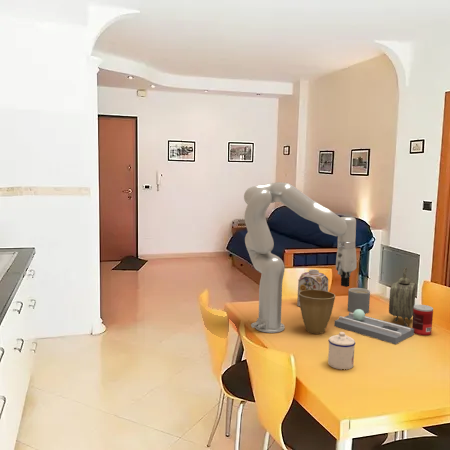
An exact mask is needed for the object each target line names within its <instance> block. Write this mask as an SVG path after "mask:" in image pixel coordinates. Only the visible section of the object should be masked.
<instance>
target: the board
mask: <svg viewBox="0 0 450 450" xmlns="http://www.w3.org/2000/svg"><path fill="white" fill-rule="evenodd" d="M333 326H334V327H335V326H336V328H339V329H343V330H345V331H349V332H353V333H355V334H359V335H363V336H366V337H369V338H373V339H377V340H380V341H383V342H386V343H389V344H392V345H397V344H399V343H401V342H403V341H404V340H406V339H408V338H410V337H412V336H414V335H415V333H414V329H413V328H412V327H409V326H407V327H405V326H404V325H401V324H398V323H394V322H389V321H386V320H381V319H380V318H379V319H378V318H374V317H370V316H368V315H367V316H366V315H365V318H364V319H363V320H361V321H357V320H355V319H354V317H353V313H351V312H349V313H348V315H346V316H340V315H339V316H338V318H337V319H336V320H334V324H333Z"/></svg>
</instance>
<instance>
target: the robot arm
mask: <svg viewBox="0 0 450 450" xmlns="http://www.w3.org/2000/svg"><path fill="white" fill-rule="evenodd" d="M243 200H244V202H245V204H246V205H247V206H246V208H245V211H244V224H245V227H246V231H247V233H246V234H245V237H244V243H245V247H246V250H247V253H248V254H249V255H248V256H249V258H250V261H251V263H252V265H253V267H254V269H255V270H256V271H257V272H258V273H260V274H261V275H260V276H261V277H260V280H259V289H258V318H256V321H255V322H252V323H251V324H250V326H251V329H255V330H257V331H259V332H261V333H262V332H263V333H268V334H269V333H270V334H273V333H280V332H283V331H284V330H285V324H284V323H282V301H283V298H282V297H283V280H284V279H283V278H284V275H285V263H284V261H283V260H282V258H280V256H278V255H276V254H274V253H272V251H273V249H274V246H275V245H274V243H275V242H274V238H273V236H272V233H271V231H270V227H269V225H268V223H267V218H266V214H267V210H268V208H269V207H270V205H271V204H273V203H281V204H283V205H284V206H285V207H287V208H288V209H290V210H291V211H293V213H295V214H297V216H300V217H301V218H303V219H305V220H308V221H311V222H312V223H315V224H317V225H318V227H319V230H320V231H321V232H322V233H324V234H327V235H331V236H334V237H337V250H336V259H335V270H336V271H337V275H339V276H340V286H341V287H345V288H347V287H350V277H351V273H352V272H354V271H355V270H356V269H357V267H358V266H357V265H358V264H357V249H356V237H357V235H356V233H357V232H356V230H357V219H356V218H355V217H354V216H341V217H340V216H339V215H338V214H336V213H335V212H334V211H332V210H331V209H329V208H327V207H325V206H324V205H322V204H320V203H319V202H317V201H315V200H313V198H311V197H310V196H308V195H307V194H305V193H304V192H302V191H301V190H300V189H298V188H297V187H296V186H294V185H292V184H291V183H288V182H282V181H281V182H280V181H278V182H272V183H271V182H270V183H267V184H261V185H255V186H250V187H248V188H247V189H246V190H245V192H244V194H243Z"/></svg>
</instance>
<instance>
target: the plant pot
mask: <svg viewBox="0 0 450 450" xmlns="http://www.w3.org/2000/svg"><path fill="white" fill-rule="evenodd" d="M335 299H336V294H335V293H333V292H330V291H329V290H328V291H322V290H303V291H300V292H299V300H300V306H299V308H300V311H301V312H300V313H301V318H302V321H303V324H304V329H305V331H306V332H308V333H309V334H310V333H311V334H317V335H320V334H324V332H325V331H326V328H327V326H328V323H329V322H330V318H331V315H332V312H333V308H334V304H335Z"/></svg>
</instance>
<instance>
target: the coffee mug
mask: <svg viewBox="0 0 450 450" xmlns="http://www.w3.org/2000/svg"><path fill="white" fill-rule="evenodd" d="M370 299H371V291H370V290H369V289H368V288H367V289H366V288H361V287H352V288H348V292H347V312H349V313H353V312H354V311H355V310H357V309H361V310H363V311H364V313H365V315H366V313H367V314H369V313H370Z"/></svg>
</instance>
